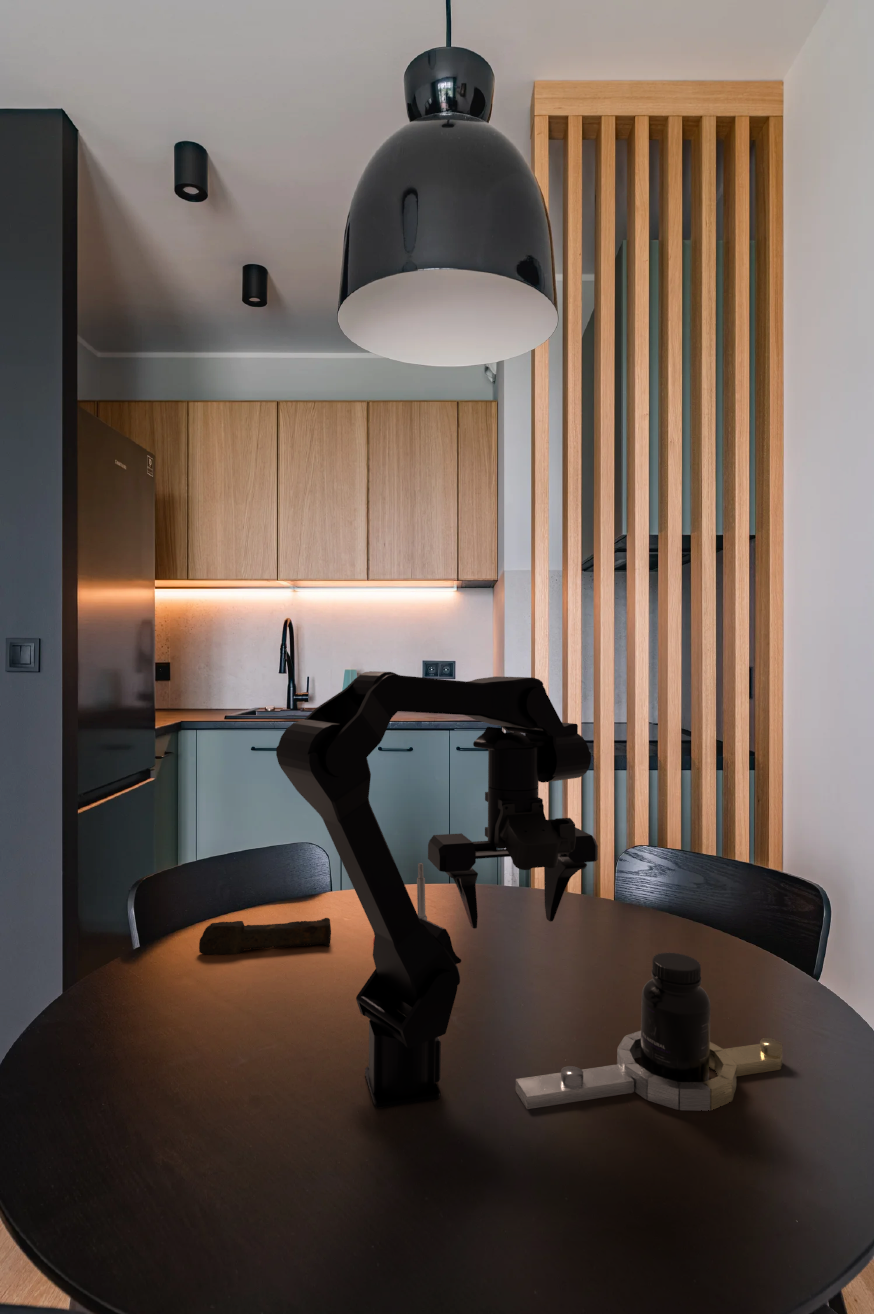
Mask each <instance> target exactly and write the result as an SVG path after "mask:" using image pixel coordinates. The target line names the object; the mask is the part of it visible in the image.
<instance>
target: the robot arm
mask: <svg viewBox="0 0 874 1314" xmlns="http://www.w3.org/2000/svg"><path fill="white" fill-rule="evenodd" d="M398 712H404V713H405V712H406V713H423V714H425V713H426V714H439V715H455V716H456V715H460V716H466V717H468V718H470V719H473V720H475V721H479V722H482V723H485V724H489V725H493V726H500V727H493V726H487V727H486V728H485V730H484V731H483V732H482V734H481V735H479V736H477V738H476V739H475V740H474V741H473V743H472V745H473V748H476V749H484V750H488V753H487V755H488V757H487V758H488V760H487V761H488V769H487V773H488V774H487V776H488V777H487V784H488V785H487V791H485V792H484V801H485V802H487V826H485V827H484V836H485V837H486V838H487V840H480V841H479V840H478V841H472V840H470V838H468V837H467V836H465V835H464V834H463V833H446V834H443V833H442V834H433V835H432V837H431V838H430V839H429V841H428V842H427V843H428V844H427V859H428V861H430V863H431V864H432V865H433V866H434V867H435V868H436V869H437V870H438V871H439V872H442V873H446V875H448V877H449V878H451V879H452V880H453V881H454V883H455V885H456V888H457V890H458V893H459V895H460V898H461V901H462V904H463V907H464V910H465V912H466V915H467V918H468V921H469V925H470V926H471V928H472V929H473V930H475V929H477V928H478V919H479V918H478V917H479V915H478V901H477V899H478V898H477V886H476V883H477V879H478V875H479V873H478V872H477V871H476V870H475V869H474V868H473V867H474V865H475V864H476V863H477V862H476V860H479V859H480V860H481V859H493V858H509V857H510V858H511V860H512V864H513V866H514V867H515V868H517V869H519V870H521V871H531V869H538V868H543V869H544V871H543V873H544V877H543V879H544V886H543V887H544V910H545V917H546V920H547V921H549V922H554V919H555V917H556V914H557V911H558V909H559V907H560V904H561V900H562V899H563V895H564V893H565V890H566V888H567V887H568V884H569V882H570V880H571V878H572V877H573V876H574V875H575V874H576V873H577V872H579V871H580V870H585V869H586V868H587V866H588V864H587V863H592V862H593V863H595V862H597V861H598V859H599V858H598V857H599V856H598V853H599V852H598V851H599V850H598V849H599V846H598V844H597V841H596V839H595V837H594V836H593V835H592V834H590V833H588V832H587V831H586V832H585V831H584V830H582V829H580V828H577V827H576V823H575V822H574V821H573V819H572V818H571V817H558V818H554V819H547V817H546V815H545V811H544V810H545V809H544V808H545V807H544V803H543V802H544V799H543V798H541V797H539V783H550V782H557V781H558V782H559V781H564V780H572V779H579V778H581V777H583V776H584V775H586V773H587V772H588V770H589V769H590V766H591V763H592V762H591V761H592V753H591V751H590V749H589V745H588V742H587V741H586V739H584V737H583V736H582V735H581V734H579V733H578V732H579V730H578V729H579V725H578V724H577V723H573V722H572V723H571V722H563V721H562V720H561V719H560V717H559V715H558V712H557V711H556V709H555V707H554V706H553V703H552V702H551V699H550V698H549V695H548V693H547V691H546V688H545V686H544V683H543V681H542V680H540V679H539V678H536V677H529V676H528V677H527V676H525V677H523V676H522V677H521V676H490V677H482V678H481V677H480V678H476V679H472V680H468V681H465V680H464V681H463V680H453V679H443V678H431V677H421V676H420V677H419V676H412V675H401V674H397V673H396V672H393V671H374V670H373V671H364V672H363V673H361V674H359V675H358V676H357V677H355V678H354V679H353V680H352V681H351V682H350V683H349V684H348V685H347V686H346V687H345V688H343V690H341V691H340V692H338V693H336V694H335V695H334V696H332V697H330V699H327V700H326V701H325V702H323V703H322V704H320V705H319V706H317V707H316V708H315V709H313V711H311V713H309V714H308V715H307V716H306V717H305V718H304V719H301V720H299V721H296V722H293V723H292V724H291V725H289V726H287V728H286V729H285V730H284V731H283V733H282V735H281V736H280V739H279V742H278V745H277V746H276V749H275V750H276V753H275V754H276V760H277V763H278V765H279V767H280V769H281V771H282V772H283V773H284V774H285V776H286V777H287V778H288V780H289V781H290V784H292V785H293V788H295V790H296V791H297V792H298V794H300V796H301V797H302V798H303V799H304V800H305V801H306V802H307V803H308V804H309V805H310V806H311V807H312V808H313V810H315V812H316V813H317V814H319V816H320V817H321V819H322V820H323V823H324V825H325V827H326V829H327V832H328V834H329V837H330V838H331V841H332V842H333V845H334V847H335V850H336V851H337V854H338V856H339V858H340V861H341V862H342V865H343V867H344V869H345V872H346V873H347V876H348V878H349V880H350V883H351V885H352V887H353V889H354V891H355V893H356V895H357V898H358V901H359V902H360V904H361V906H362V909H363V911H364V914H365V916H366V918H367V921H368V922H369V924H370V926H371V930H372V932H373V935H374V937H375V939H374V938H373V939H374V942H373V949H372V959H373V962H374V967H375V969H374V970H373V972H372V973H371V974H370V976H369V978H368V979H367V980H366V982H365V983H364V985H363V986H362V988H361V989H360V991H359V992H358V994H357V995H356V998H355V999H356V1000H355V1001H356V1003H357V1006H358V1010H359V1012H360V1014H361V1015H362V1016H364V1017H367V1018H368V1019H369V1020H368V1066H366V1067H365V1068H364V1075H365V1078H366V1082H367V1084H368V1085H367V1086H368V1089H369V1091H370V1096H371V1099H372V1101H373V1102H372V1103H373V1106H374V1107H375V1108H378V1109H380V1108H386V1107H387V1108H388V1107H392V1106H393V1107H394V1106H400V1105H407V1104H414V1103H421V1102H427V1101H434V1100H438V1099H440V1098H441V1091H440V1089H439V1087H438V1085H437V1083H439V1082H440V1081H441V1057H442V1056H441V1055H442V1053H441V1051H442V1046H441V1045H442V1042H441V1040H440V1037H442V1036H444V1035H446V1033H447V1030H448V1026H449V1022H450V1018H451V1015H452V1011H453V1008H454V1003H455V999H456V997H457V996H456V995H457V993H458V986H459V985H460V984H461V974H460V971H459V970H460V969H459V966H458V965H457V964H461V962H462V959H461V958H460V957H459V956H457V954H456V952H455V951H454V948H453V943H452V940H451V936H450V935H449V934H450V933H449V932H448V929H446V928H444V927H442V926H440V925H438V924H436V923H434V922H431V921H430V920H428V919H427V920H425V919H423V918H421V917H419V916H418V912H417V911H416V909H415V906H414V904H413V901H412V899H411V897H410V894H409V892H408V890H407V889H408V888H406V885H405V883H404V881H403V878H402V875H401V874H400V870H399V868H398V866H397V864H396V862H395V859H394V857H393V854H392V851H391V850H390V847H389V846H388V843H387V840H386V838H385V836H384V834H383V831H382V828H381V827H380V824H379V822H378V820H377V818H376V815H375V813H374V810H373V808H372V805H371V803H370V797H369V796H370V788H371V776H372V773H371V769H370V765H369V760H368V757H369V755H370V754H372V752H373V751H375V749H376V748H377V747H378V746H379V745H380V743H382V741H383V739H384V736H385V734H386V732H387V729H388V727H389V725H390V722H391V720H392V718H393V717H394V716H396V714H397V713H398ZM503 730H505V731H506V732H504V731H503Z"/></svg>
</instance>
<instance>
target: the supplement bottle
mask: <svg viewBox="0 0 874 1314" xmlns="http://www.w3.org/2000/svg"><path fill="white" fill-rule="evenodd" d="M651 963H652V969H651V978H652V979H649V980H648V981H647V982H646V983H645V984H644V986H643V988H642V990H641V1004H640V1005H641V1006H640V1008H641V1013H640V1016H641V1017H640V1019H641V1020H640V1031H641V1053H640V1056H641V1057H639V1058H640V1066H641V1067H642V1068H644V1069H645V1070H647V1071H649V1072H650V1073H652V1074H653V1075H656V1076H659V1077H663V1078H666V1079H670V1080H673V1081H677V1082H705V1081H708V1080H710V1068H709V1058H710V1042H711V999H710V996H709V995H708V993H707V992H706V990H705V989H704V988H703V987H702V986H701V984H702V975H701V973H702V971H701V970H702V968H701V966H702V965H701V964H700V962H699V961H698V960H697V959H695V958H694V957H691V956H689V955H686V954H683V953H678V952H677V953H676V952H669V951H668V952H660V953H657V954H655V955H654V956H653V957H652V962H651Z"/></svg>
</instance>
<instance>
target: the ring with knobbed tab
mask: <svg viewBox="0 0 874 1314" xmlns="http://www.w3.org/2000/svg"><path fill="white" fill-rule="evenodd" d="M782 1066H783V1044H782V1042H780V1041H779V1040H777V1039H774V1038H771V1037H764V1038H761V1039H760V1040H759V1043H757V1044H750V1045H743V1046H734V1047H729V1048H722V1047H720V1046H719V1045H717V1044H715V1043H714V1042H711V1041H710V1058H709V1067H710V1068H709V1069H711V1070H712V1071H714V1070H715V1071H716V1072H715V1071H714V1072H715V1073H717V1074H716V1075H717V1076H716V1077H713V1078H711V1079H710V1078H709V1080H708V1081H705V1083H703V1084H704V1085H708V1086H707V1087H709V1088H710V1111H714V1110H716V1109H717V1108H720V1106H721V1107H722V1106H725V1105H727V1104H729V1102H730V1103H732V1102H733V1100H734V1096H735V1093H736V1089H737V1077H742V1076H747V1075H754V1074H762V1073H767V1072H772V1071H773V1072H774V1071H779V1070H782ZM713 1109H714V1110H713Z"/></svg>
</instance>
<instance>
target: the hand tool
mask: <svg viewBox="0 0 874 1314" xmlns="http://www.w3.org/2000/svg"><path fill="white" fill-rule="evenodd" d="M331 928H332V927H331V919H330V918H329V917H324V918H321V919H318V920H309V921H308V920H301V921H300V920H299V921H297V920H296V921H289V922H286V923H272V924H270V923H269V924H247V925H246V924H245V923H244V921H243V920H236V921H219V922H212V923H210V924H209V925H208V926H206V927H205V929H204V930H203V933H202V935H201V937H200V939H199V946H198V948H199V949H198V950H199V951H198V953H200V954H202V955H208V956H211V955H212V956H219V955H220V956H222V955H223V956H224V955H240V954H241V953H243V952H244V951H248V950H258V949H260V950H261V949H262V950H263V949H271V948H287V947H302V946H305V947H306V946H309V947H312V946H316V945H324V946H325V947H327V948H329V947H330V945H331V940H332V939H331V938H332V929H331Z"/></svg>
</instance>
